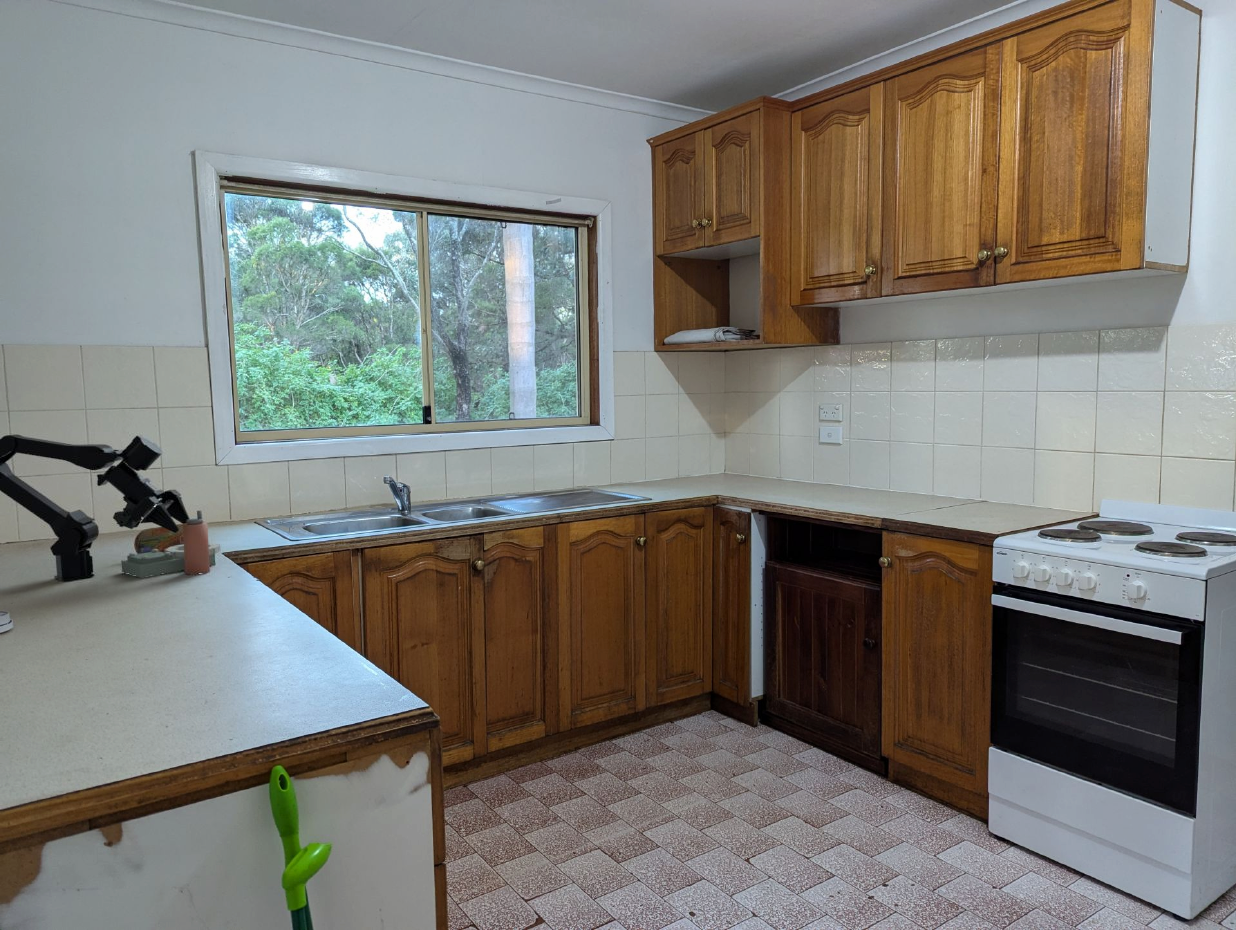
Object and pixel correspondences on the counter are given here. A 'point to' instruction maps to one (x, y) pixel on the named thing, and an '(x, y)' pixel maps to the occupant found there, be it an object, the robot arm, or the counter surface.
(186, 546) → the oil can
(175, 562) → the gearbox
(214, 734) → the counter surface
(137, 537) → the tin
